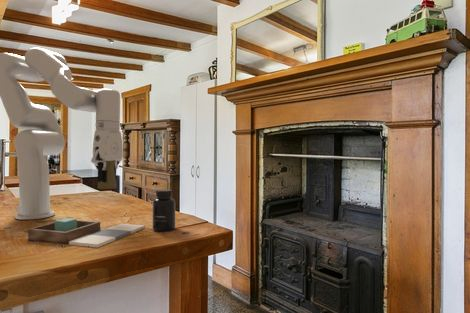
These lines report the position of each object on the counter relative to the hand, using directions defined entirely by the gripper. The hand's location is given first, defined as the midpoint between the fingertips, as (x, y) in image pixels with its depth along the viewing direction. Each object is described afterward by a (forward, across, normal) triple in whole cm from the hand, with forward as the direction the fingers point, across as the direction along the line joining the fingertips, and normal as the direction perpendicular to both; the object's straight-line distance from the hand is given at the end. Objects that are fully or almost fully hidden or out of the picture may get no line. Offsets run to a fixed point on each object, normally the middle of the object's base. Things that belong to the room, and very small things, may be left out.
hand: (107, 180), depth 115 cm
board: (+13, -15, -14) cm, 24 cm away
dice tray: (+14, -19, -2) cm, 24 cm away
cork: (+3, 0, 0) cm, 3 cm away
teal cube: (+13, -19, -1) cm, 23 cm away
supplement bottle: (+13, -4, -24) cm, 28 cm away
